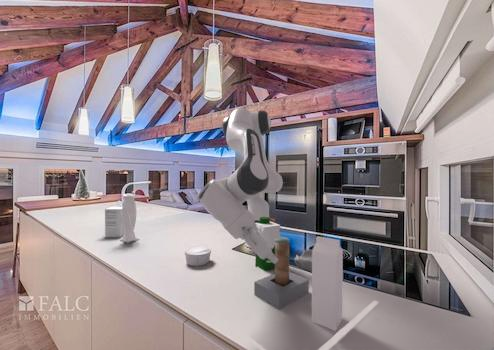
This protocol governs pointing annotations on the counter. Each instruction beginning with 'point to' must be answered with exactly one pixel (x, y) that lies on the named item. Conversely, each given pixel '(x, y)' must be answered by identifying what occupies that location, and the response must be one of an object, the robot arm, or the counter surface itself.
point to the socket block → (281, 290)
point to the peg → (282, 261)
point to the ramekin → (197, 255)
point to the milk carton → (269, 233)
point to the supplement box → (113, 222)
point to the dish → (305, 260)
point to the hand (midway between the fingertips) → (273, 255)
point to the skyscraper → (129, 217)
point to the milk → (327, 282)
